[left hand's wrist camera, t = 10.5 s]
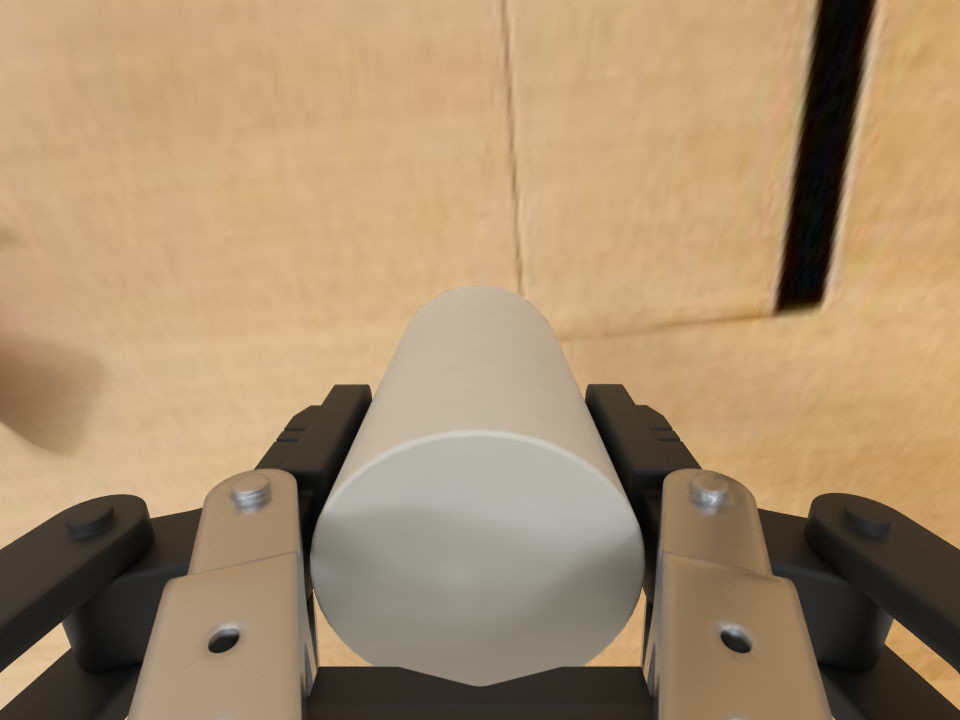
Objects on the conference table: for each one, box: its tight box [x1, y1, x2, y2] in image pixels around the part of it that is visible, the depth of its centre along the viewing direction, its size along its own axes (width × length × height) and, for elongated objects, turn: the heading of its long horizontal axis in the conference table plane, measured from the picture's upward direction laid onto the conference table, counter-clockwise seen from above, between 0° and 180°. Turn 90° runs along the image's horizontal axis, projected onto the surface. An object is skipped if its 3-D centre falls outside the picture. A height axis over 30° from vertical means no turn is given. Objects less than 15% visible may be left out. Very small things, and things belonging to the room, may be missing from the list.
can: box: [310, 285, 645, 686], centre depth 11 cm, size 5×5×8 cm
